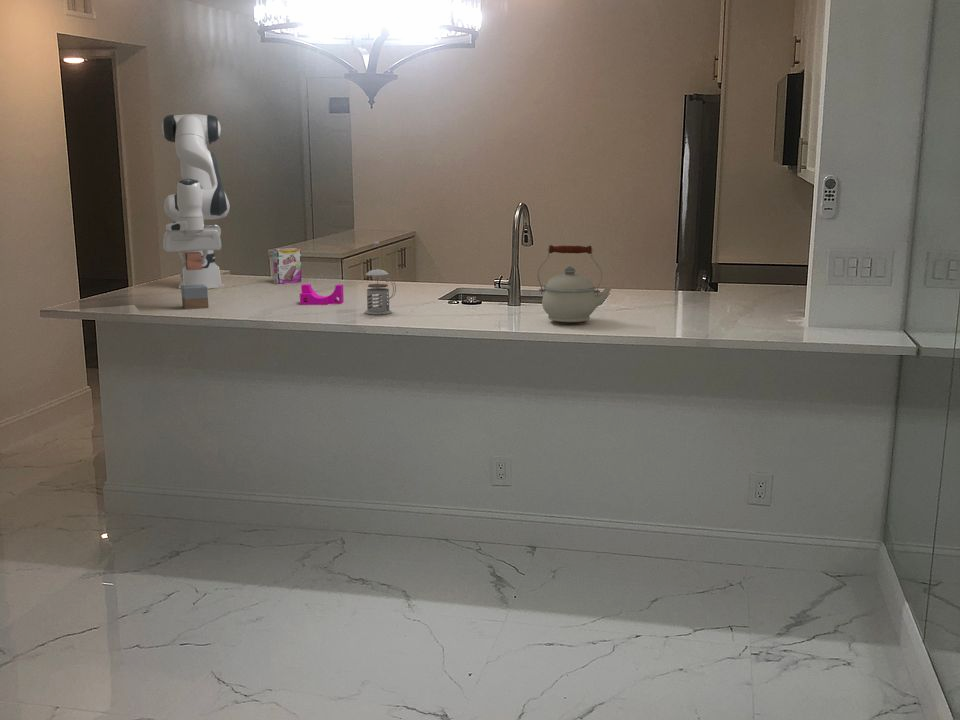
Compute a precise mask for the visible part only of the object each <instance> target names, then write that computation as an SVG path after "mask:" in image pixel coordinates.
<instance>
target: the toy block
mask: <svg viewBox="0 0 960 720" xmlns="http://www.w3.org/2000/svg"><path fill="white" fill-rule="evenodd" d="M300 288H301V293H299V303H300V304H299V305H300V306H328V305H342V304H343V303H344V299H345V298H344V284H343V283H342V284H341V283H340V284H339V283H338V284H336V285H335V287H334V290H333V292H332V293H331V294H330V295H325V296H323V295H320V294H318V293H317V292H315V291H314V289H313V287H312V284H311V283H303V284H301V287H300ZM338 299H339V300H338Z"/></svg>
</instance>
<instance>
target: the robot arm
mask: <svg viewBox="0 0 960 720" xmlns="http://www.w3.org/2000/svg"><path fill="white" fill-rule="evenodd" d="M161 132H162V134H163V137H164V139H165V140H166V141H168V142H170V143H174V147H175V148H174V149H175V153H176V157H178V159H179V160H180V161H179V162H180V164H179V165H180V177H181V179H180V180H179V181H178V182H177V185H176V186H177V188H176V193H172V194H169V195H167V196H166V197H165V199H164V202H163V209H164V210H163V211H164V213H165V215H166V216H167V217H168V218H170V220H172V221H173V222H170V223H167V224H166V225H165V230H166V231H165V232H164V234H163V239H162V241H163V242H162V249H163V251H165V252H166V253H176V252H178V253H177V254H178V256H179V257H180V259H181V263H182V265H184V267H182V270H181V271H180V272H179V278H181V281H180V283H179V284H178V289H179V290H180V289H181V286H186V285H205V286H206V287H207V290H209V289H218V288H220V287H225V286H226V284H225V283H223V282H222V280H221V271H220V266H219V265H217V264H216V254H215V252H214V251H220V250H221V249H222V239H221V235H222V229H221V227H220V226H218V225H217V224H205V221H206V220H219V219H222V218H225V217H227V216H228V214H229V212H230V209H231V207H230V201H229V198H228V196H227V194H226V192H225V189H224V185H223V181H222V180H223V179H222V176H221V173H220V168H219V164H218V160H217V158H216V155H215V154H214V153H213V152H211V151H210V150H209V149H208V145H207V143H208V144H209V145H212V143H215V142H217V141H218V140H219V139H220V138H219V137H220V136H221V132H222V128H221V123H220V121H219V119H218V118H217V116H215V115H212V114H207V115H206V114H202V113H201V114H200V113H190V114H188V113H187V114H176V115H175V114H169V115H166V116H165V117H164V118H163V121H162V123H161ZM204 220H205V221H204ZM184 252H185V253H186V252H200V253H201V258H202V270H187V269H186V264H187V262H186V261H187V259H185V257H184V256H183V255H184Z"/></svg>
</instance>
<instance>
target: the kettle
mask: <svg viewBox="0 0 960 720" xmlns="http://www.w3.org/2000/svg"><path fill="white" fill-rule="evenodd" d="M547 251H548V253H547V257H546V259H545V260H544V261H543V262H542V263H541V265H540V266H539V268H538V270H537V271H536V272H537V273H536V274H537V281H538V284H539V286H540V288H539V289H538V292H540V294H543V296H542V298H541V299H542V300H541V305H542V308H543V310H544V312H545V313H546V314H547V319H548V320H550V321H554V322H561V323H581V322H582V323H583V322H586V321H589V320H590V316H591V315H592V313H594V311H595V310H596V309H597V308H598V307H599V306H600V305H602V304H603V302H604V301H606V300H605V299H606V298H607V296H608V295H609V294H610V292H611V290H612V287H609V286H606V287H605V288H604V289H603V291H602V292H601V290H600V289H599V288H600V285H601V283H602V279H603V270H602V268H601V267H600V266H599V264H598V263H597V261H596V260H595V259H594V258H593V251H594V248H593V246H592V245H587V246H583V245H557V246H554V245H552V244H550V245H548V247H547ZM553 253H557V254H558V253H559V254H584V253H586V254H589V255H590V257H591V260H592V261H593V263H594V264H595V265H596V267H597V268H598V269H599V272H600V274H601V277H600V281H599V284H598V285H597V287H596V286H595V285H594V284H593V282H592V280H591V279H590V278H588V277H586V276H584V275H581V274H576V272H577V271H576V270H575V268H574V267H573V266H571V265H570V266H568V267H566V268H565V269H564V270H563V272H564V273H563V274H562V273H561V274H557V275H555V276H554V275H553V276H552V277H551V278H549V279H548V280H547V282H546V284H545V285H544V286H542V283H541V281H540V276H539V273H540V270H541V268H542V266H543V265H545V263H546V262H547V261H548V259H549V257H550V254H553Z"/></svg>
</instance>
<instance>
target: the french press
mask: <svg viewBox="0 0 960 720" xmlns="http://www.w3.org/2000/svg"><path fill="white" fill-rule="evenodd" d="M373 244H374V246H380V242H379V241H375V242H374V243H373ZM378 265H379V264H378V259H376V268H375V269H371V270H370V271H367V273H365V275H366V276H367V277H376V281H377V283H370V284H368V285H367V288H368V289H366V301H367V303H366V305H367V309H366V310H365V311H364V314H367V315H388V314H391V313H393V312H392V310H390V299H392V298H393V297H394V296H395V295H396V292H397V286H396V283H395V281H394V280H393V279H392V278H390V277H389V278H385V282H386V283H379V277H387V276H389V275H390V273H388V272H387V271H386V270H383V269H379V268H378V267H379V266H378ZM389 282H390V283H391V285H392V294H391V296H390V289H389V288H388V287H389V284H387V283H389Z"/></svg>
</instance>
